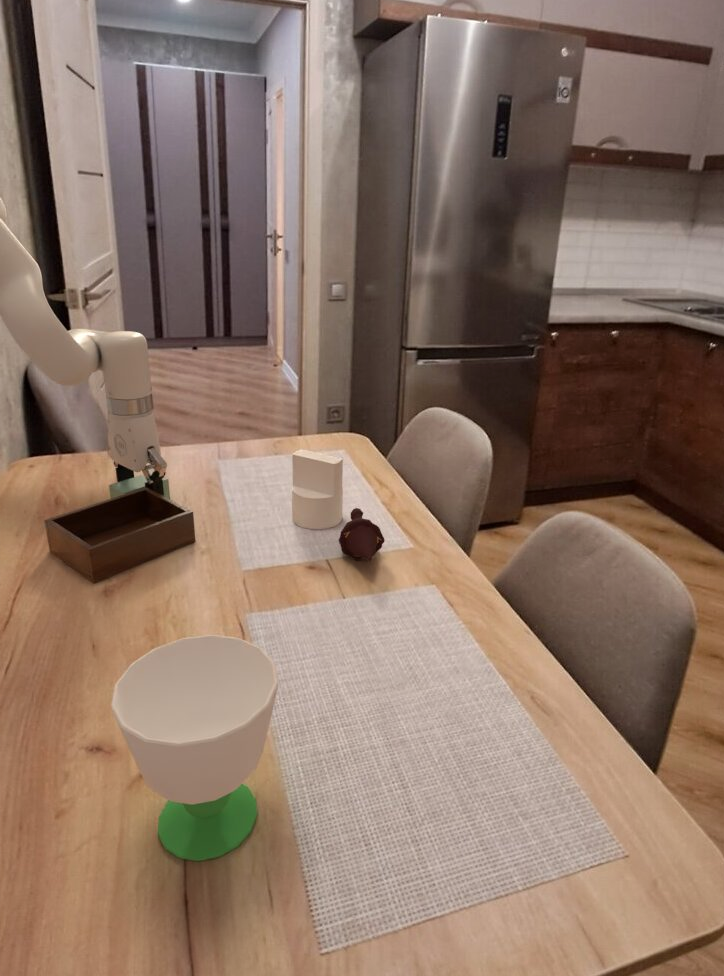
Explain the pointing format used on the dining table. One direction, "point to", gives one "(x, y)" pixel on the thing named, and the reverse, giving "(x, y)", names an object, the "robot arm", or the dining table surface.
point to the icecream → (360, 537)
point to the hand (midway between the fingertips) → (140, 493)
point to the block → (134, 486)
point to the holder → (119, 533)
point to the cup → (199, 736)
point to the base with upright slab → (316, 490)
